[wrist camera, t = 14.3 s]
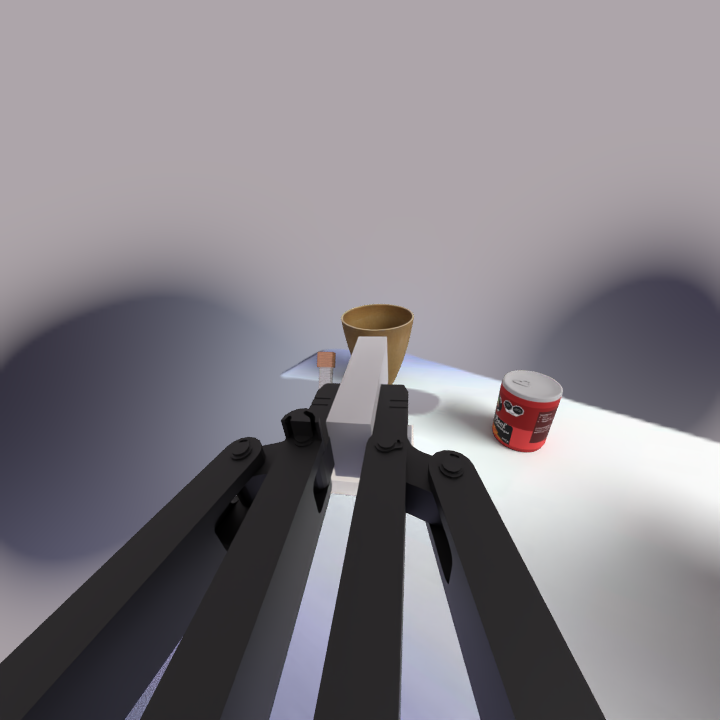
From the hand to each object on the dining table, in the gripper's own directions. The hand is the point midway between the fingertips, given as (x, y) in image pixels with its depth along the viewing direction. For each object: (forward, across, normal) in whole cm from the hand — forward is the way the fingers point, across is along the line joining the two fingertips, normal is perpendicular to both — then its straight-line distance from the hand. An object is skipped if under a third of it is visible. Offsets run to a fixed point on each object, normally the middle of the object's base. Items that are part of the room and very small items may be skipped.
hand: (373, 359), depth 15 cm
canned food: (+25, +20, -30) cm, 44 cm away
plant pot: (+41, -5, -30) cm, 51 cm away
